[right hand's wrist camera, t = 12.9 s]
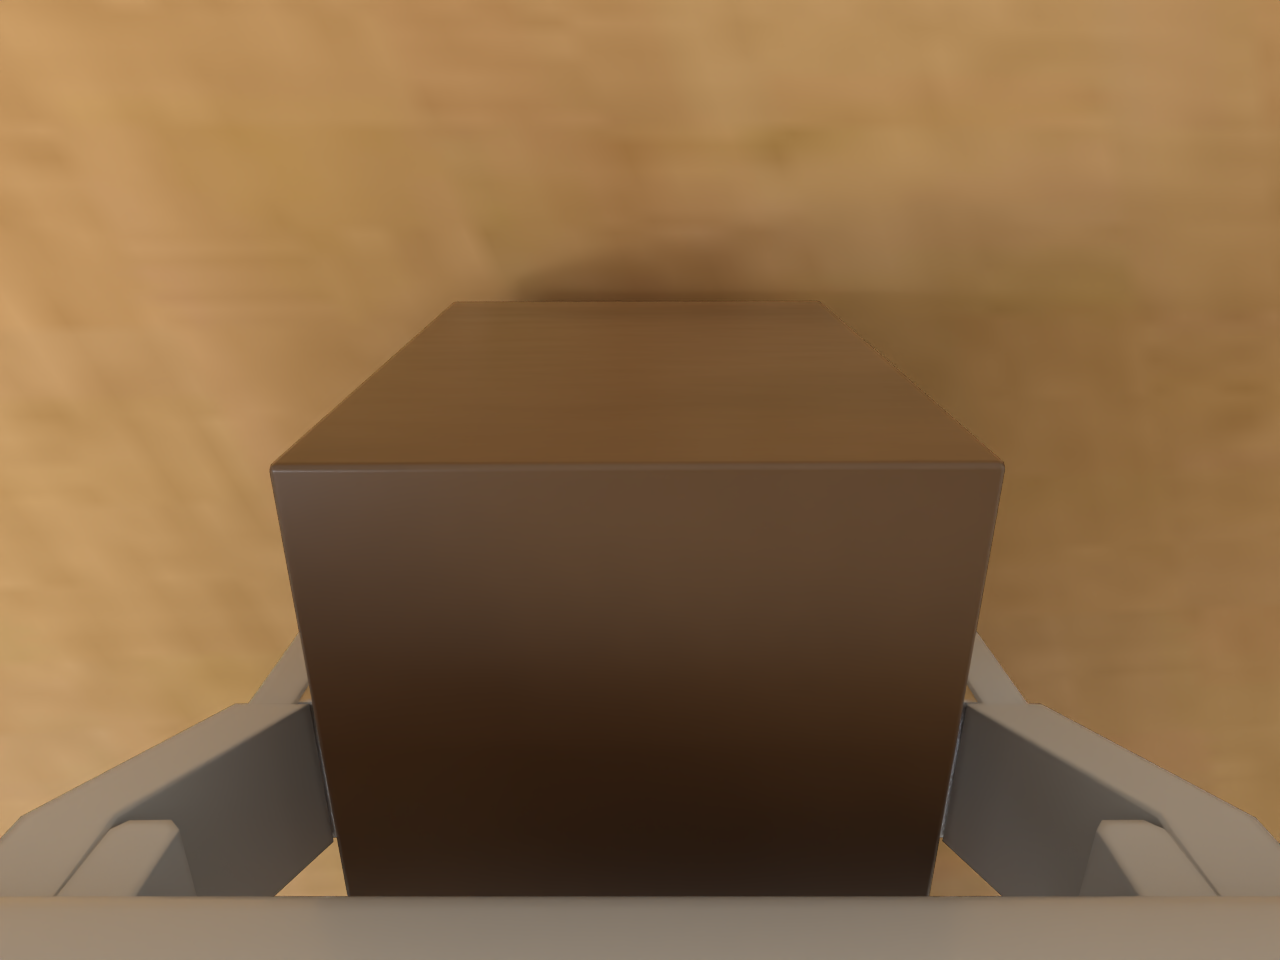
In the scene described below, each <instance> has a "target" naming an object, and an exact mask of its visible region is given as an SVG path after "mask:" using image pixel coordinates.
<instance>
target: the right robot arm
mask: <svg viewBox="0 0 1280 960" xmlns="http://www.w3.org/2000/svg"><path fill="white" fill-rule="evenodd" d="M333 837H337V835H336V830H335V825H334V819H333V814H332V808H331V803H330V797H329V792H328V786H327V781H326V776H325V770H324V765H323V759H322V754H321V748H320V743H319V737H318V732H317V727H316V721H315V716H314V710H313V705H312V699H311V694H310V688H309V683H308V678H307V672H306V667H305V661H304V656H303V650H302V645H301V640H300V634H299V633H298V634H297V635H296V637H295V638H294V640H293V641H292V642H291V644H290V645H289V647H288V648H287V650H286V651H285V652H284V654H283V655H282V657H281V658H280V659H279V661H278V662H277V664H276V665H275V666H274V668H273V669H272V671H271V672H270V673H269V675H268V676H267V678H266V679H265V680H264V682H263V683H262V685H261V686H260V687H259V689H258V690H257V692H256V693H255V695H254V696H253V697H252V699H251V700H250V702H249V703H248V704H234V705H232V706H230V707H228V708H226V709H224V710H222V711H220V712H218V713H217V714H215V715H213V716H211V717H209V718H207V719H205V720H203V721H201V722H199V723H198V724H196V725H194V726H192V727H190V728H188V729H186V730H184V731H182V732H180V733H179V734H177V735H175V736H173V737H171V738H169V739H167V740H165V741H163V742H161V743H160V744H158V745H156V746H154V747H152V748H150V749H148V750H146V751H144V752H142V753H141V754H139V755H137V756H135V757H133V758H131V759H129V760H127V761H125V762H123V763H122V764H120V765H118V766H116V767H114V768H112V769H110V770H108V771H106V772H104V773H103V774H101V775H99V776H97V777H95V778H93V779H91V780H89V781H87V782H85V783H84V784H82V785H80V786H78V787H76V788H74V789H72V790H70V791H68V792H66V793H65V794H63V795H61V796H59V797H57V798H55V799H53V800H51V801H49V802H47V803H46V804H44V805H42V806H40V807H38V808H36V809H34V810H32V811H30V812H28V813H27V814H25V815H23V816H21V817H20V818H19V819H18V820H17V821H16V822H15V823H14V824H13V825H12V827H11V828H10V829H9V830H8V831H7V832H6V833H5V834H4V835H3V836H2V837H1V838H0V960H1280V844H1279V843H1278V841H1277V840H1276V839H1275V838H1274V837H1273V836H1272V835H1271V834H1270V833H1269V832H1268V831H1267V829H1266V828H1265V827H1264V826H1263V825H1262V824H1261V823H1260V822H1259V821H1258V820H1257V819H1256V818H1255V817H1253V816H1252V815H1250V814H1248V813H1246V812H1244V811H1242V810H1240V809H1238V808H1236V807H1235V806H1233V805H1231V804H1229V803H1227V802H1225V801H1223V800H1221V799H1219V798H1218V797H1216V796H1214V795H1212V794H1210V793H1208V792H1206V791H1204V790H1203V789H1201V788H1199V787H1197V786H1195V785H1193V784H1191V783H1189V782H1187V781H1186V780H1184V779H1182V778H1180V777H1178V776H1176V775H1174V774H1172V773H1170V772H1169V771H1167V770H1165V769H1163V768H1161V767H1159V766H1157V765H1155V764H1154V763H1152V762H1150V761H1148V760H1146V759H1144V758H1142V757H1140V756H1138V755H1137V754H1135V753H1133V752H1131V751H1129V750H1127V749H1125V748H1123V747H1121V746H1120V745H1118V744H1116V743H1114V742H1112V741H1110V740H1108V739H1106V738H1105V737H1103V736H1101V735H1099V734H1097V733H1095V732H1093V731H1091V730H1089V729H1088V728H1086V727H1084V726H1082V725H1080V724H1078V723H1076V722H1074V721H1072V720H1071V719H1069V718H1067V717H1065V716H1063V715H1061V714H1059V713H1057V712H1056V711H1054V710H1052V709H1050V708H1048V707H1046V706H1044V705H1042V704H1028V703H1027V702H1026V700H1025V699H1024V697H1023V696H1022V695H1021V693H1020V692H1019V690H1018V689H1017V688H1016V686H1015V685H1014V683H1013V682H1012V681H1011V679H1010V678H1009V676H1008V675H1007V674H1006V672H1005V671H1004V669H1003V668H1002V666H1001V665H1000V664H999V662H998V661H997V659H996V658H995V657H994V655H993V654H992V652H991V651H990V650H989V648H988V647H987V645H986V644H985V643H984V641H983V640H982V638H981V637H980V636H979V634H978V633H977V631H976V635H975V641H974V647H973V652H972V658H971V664H970V669H969V675H968V680H967V686H966V692H965V697H964V703H963V709H962V714H961V720H960V726H959V731H958V737H957V742H956V748H955V754H954V759H953V765H952V771H951V776H950V782H949V788H948V793H947V799H946V805H945V810H944V816H943V821H942V827H941V833H940V837H943V840H942V841H943V842H944V843H945V844H946V845H947V846H949V847H950V848H951V849H952V850H953V851H954V852H955V853H956V854H957V855H958V856H959V857H960V858H961V859H963V860H964V861H965V862H966V863H967V864H968V865H969V866H970V867H971V868H972V869H973V870H974V871H975V872H977V873H978V874H979V875H980V876H981V877H982V878H983V879H984V880H985V881H986V882H987V883H988V884H989V885H991V886H992V887H993V888H994V889H995V890H996V891H997V892H998V893H999V894H1000V895H1001V896H275V895H276V894H277V893H278V892H279V891H280V890H281V889H283V888H284V887H285V886H286V885H287V884H288V883H289V882H290V881H291V880H292V879H293V878H294V877H296V876H297V875H298V874H299V873H300V872H301V871H302V870H303V869H304V868H305V867H306V866H307V865H309V864H310V863H311V862H312V861H313V860H314V859H315V858H316V857H317V856H318V855H319V854H321V853H322V852H323V851H324V850H325V849H326V848H327V847H328V846H329V845H330V844H331V843H332V842H333Z"/></svg>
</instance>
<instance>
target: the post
mask: <svg viewBox="0 0 1280 960" xmlns="http://www.w3.org/2000/svg"><path fill="white" fill-rule="evenodd" d="M1004 472H1005V466H1004V462H1003V461H1002V460H1000V459H999V458H998V457H997V456H996V455H995V454H994V453H992V452H991V451H990V450H989V449H988V448H987V447H986V446H984V445H983V444H982V443H981V442H980V441H979V440H978V439H976V438H975V437H974V436H973V435H972V434H971V433H970V432H968V431H967V430H966V429H965V428H964V427H963V426H962V425H960V424H959V423H958V422H957V421H956V420H955V419H954V418H952V417H951V416H950V415H949V414H948V413H947V412H946V411H944V410H943V409H942V408H941V407H940V406H939V405H938V404H936V403H935V402H934V401H933V400H932V399H931V398H930V397H928V396H927V395H926V394H925V393H924V392H923V391H922V390H920V389H919V388H918V387H917V386H916V385H915V384H914V383H912V382H911V381H910V380H909V379H908V378H907V377H906V376H904V375H903V374H902V373H901V372H900V371H899V370H898V369H896V368H895V367H894V366H893V365H892V364H891V363H890V362H888V361H887V360H886V359H885V358H884V357H883V356H881V355H880V354H879V353H878V352H877V351H876V350H875V349H873V348H872V347H871V346H870V345H869V344H868V343H867V342H865V341H864V340H863V339H862V338H861V337H860V336H859V335H857V334H856V333H855V332H854V331H853V330H852V329H851V328H849V327H848V326H847V325H846V324H845V323H844V322H843V321H841V320H840V319H839V318H838V317H837V316H836V315H835V314H833V313H832V312H831V311H830V310H829V309H828V308H827V307H825V306H824V305H823V304H822V303H821V302H819V301H579V302H454V303H453V304H451V305H450V306H449V307H448V308H447V309H446V310H445V311H443V312H442V313H441V314H440V315H439V316H438V317H437V318H436V319H434V320H433V321H432V322H431V323H430V324H429V325H428V326H427V327H425V328H424V329H423V330H422V331H421V332H420V333H419V334H418V335H416V336H415V337H414V338H413V339H412V340H411V341H410V342H409V343H407V344H406V345H405V346H404V347H403V348H402V349H401V350H400V351H398V352H397V353H396V354H395V355H394V356H393V357H392V358H391V359H389V360H388V361H387V362H386V363H385V364H384V365H383V366H382V367H380V368H379V369H378V370H377V371H376V372H375V373H374V374H372V375H371V376H370V377H369V378H368V379H367V380H366V381H365V382H363V383H362V384H361V385H360V386H359V387H358V388H357V389H356V390H354V391H353V392H352V393H351V394H350V395H349V396H348V397H347V398H345V399H344V400H343V401H342V402H341V403H340V404H339V405H338V406H336V407H335V408H334V409H333V410H332V411H331V412H330V413H329V414H327V415H326V416H325V417H324V418H323V419H322V420H321V421H320V422H318V423H317V424H316V425H315V426H314V427H313V428H312V429H310V430H309V431H308V432H307V433H306V434H305V435H304V436H303V437H301V438H300V439H299V440H298V441H297V442H296V443H295V444H294V445H292V446H291V447H290V448H289V449H288V450H287V451H286V452H285V453H283V454H282V455H281V456H280V457H279V458H278V459H277V460H276V461H274V462H273V463H272V464H271V466H270V476H271V482H272V487H273V493H274V498H275V503H276V509H277V514H278V520H279V525H280V531H281V536H282V542H283V547H284V552H285V558H286V563H287V569H288V574H289V580H290V585H291V591H292V596H293V601H294V607H295V612H296V618H297V623H298V629H299V634H300V640H301V645H302V650H303V656H304V661H305V667H306V672H307V678H308V683H309V688H310V694H311V699H312V705H313V710H314V716H315V721H316V727H317V732H318V737H319V743H320V748H321V754H322V759H323V765H324V770H325V776H326V781H327V786H328V792H329V797H330V803H331V808H332V814H333V819H334V825H335V830H336V835H337V841H338V846H339V852H340V857H341V863H342V868H343V873H344V879H345V884H346V890H347V895H348V896H929V895H930V889H931V883H932V878H933V872H934V867H935V861H936V855H937V850H938V844H939V838H940V833H941V827H942V821H943V816H944V810H945V805H946V799H947V793H948V788H949V782H950V776H951V771H952V765H953V759H954V754H955V748H956V742H957V737H958V731H959V726H960V720H961V714H962V709H963V703H964V697H965V692H966V686H967V680H968V675H969V669H970V664H971V658H972V652H973V647H974V641H975V635H976V630H977V624H978V618H979V613H980V607H981V601H982V596H983V590H984V585H985V579H986V573H987V568H988V562H989V556H990V551H991V545H992V539H993V534H994V528H995V522H996V517H997V511H998V506H999V500H1000V494H1001V489H1002V483H1003V477H1004Z"/></svg>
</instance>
